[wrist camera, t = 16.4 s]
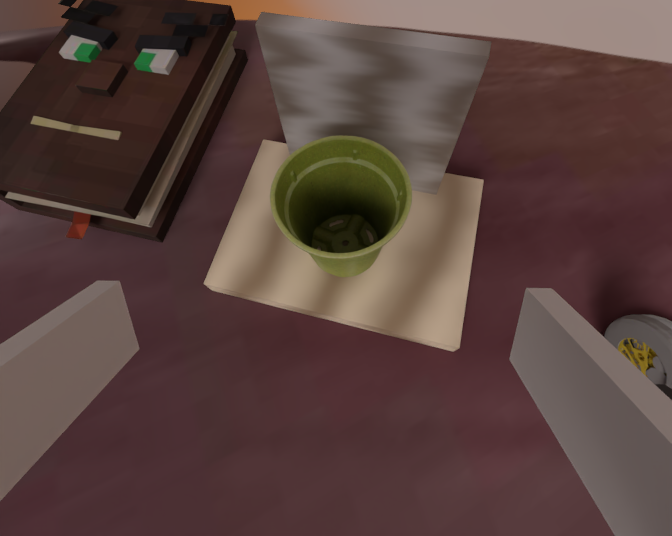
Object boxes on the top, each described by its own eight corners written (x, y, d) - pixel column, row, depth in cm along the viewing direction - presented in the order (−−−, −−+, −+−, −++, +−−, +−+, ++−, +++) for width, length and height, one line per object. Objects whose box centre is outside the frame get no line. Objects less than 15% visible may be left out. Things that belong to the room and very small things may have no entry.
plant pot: (313, 314, 29) (297, 280, 21) (277, 221, 33) (252, 161, 25) (416, 272, 30) (438, 224, 22) (370, 186, 34) (375, 117, 25)
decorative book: (-85, 187, 30) (87, -35, 40) (-1, 228, 37) (127, 31, 47) (116, 233, 27) (246, -17, 37) (166, 268, 34) (264, 50, 44)
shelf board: (212, 290, 33) (91, 195, 18) (267, 152, 38) (211, -10, 23) (452, 351, 30) (550, 298, 15) (477, 191, 35) (566, 33, 20)
